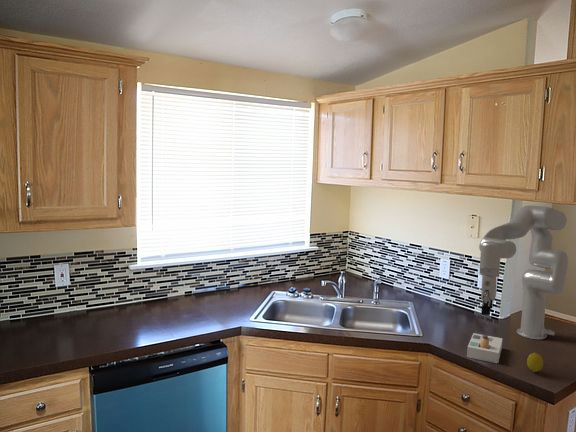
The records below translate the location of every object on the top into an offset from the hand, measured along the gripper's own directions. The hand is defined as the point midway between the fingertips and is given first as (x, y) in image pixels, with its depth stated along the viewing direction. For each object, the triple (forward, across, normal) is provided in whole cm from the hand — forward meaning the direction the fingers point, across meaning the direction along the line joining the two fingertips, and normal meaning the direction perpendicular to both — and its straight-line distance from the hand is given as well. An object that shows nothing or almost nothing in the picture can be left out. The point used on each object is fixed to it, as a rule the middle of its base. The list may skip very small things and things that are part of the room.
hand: (486, 311), depth 190 cm
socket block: (+20, +4, 0) cm, 20 cm away
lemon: (+20, -6, -19) cm, 28 cm away
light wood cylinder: (+20, 0, 0) cm, 20 cm away
